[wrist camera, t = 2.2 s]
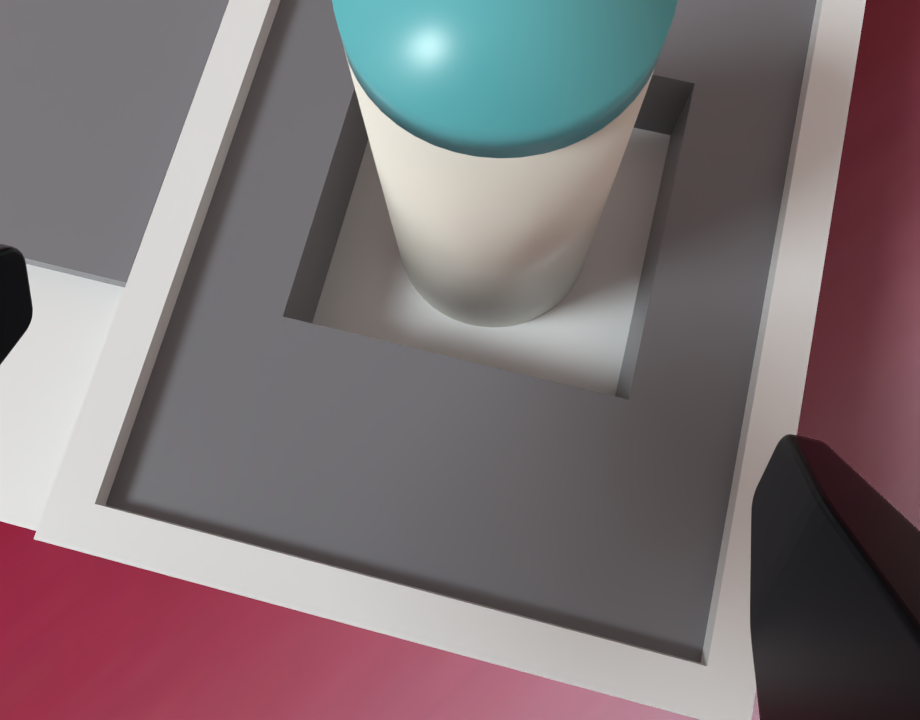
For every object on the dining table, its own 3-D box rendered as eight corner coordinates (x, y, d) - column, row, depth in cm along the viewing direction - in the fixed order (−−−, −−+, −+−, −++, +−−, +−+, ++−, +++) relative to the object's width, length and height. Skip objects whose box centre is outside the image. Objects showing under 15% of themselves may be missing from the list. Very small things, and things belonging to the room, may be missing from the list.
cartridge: (617, 288, 21) (738, 58, 11) (437, 355, 20) (399, 181, 11) (544, 126, 22) (596, -212, 12) (373, 187, 22) (285, -108, 12)
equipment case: (695, 695, 19) (749, 733, 16) (-315, 424, 22) (-489, 397, 18) (817, -2, 24) (883, -110, 20) (-34, -169, 26) (-125, -296, 22)
